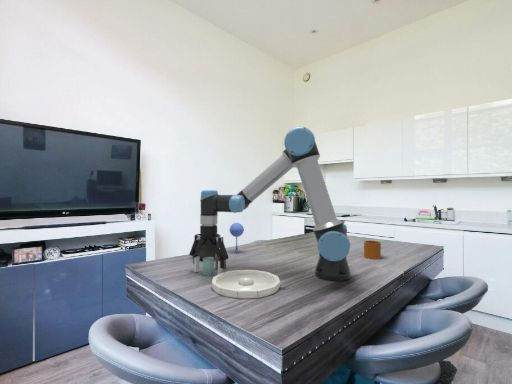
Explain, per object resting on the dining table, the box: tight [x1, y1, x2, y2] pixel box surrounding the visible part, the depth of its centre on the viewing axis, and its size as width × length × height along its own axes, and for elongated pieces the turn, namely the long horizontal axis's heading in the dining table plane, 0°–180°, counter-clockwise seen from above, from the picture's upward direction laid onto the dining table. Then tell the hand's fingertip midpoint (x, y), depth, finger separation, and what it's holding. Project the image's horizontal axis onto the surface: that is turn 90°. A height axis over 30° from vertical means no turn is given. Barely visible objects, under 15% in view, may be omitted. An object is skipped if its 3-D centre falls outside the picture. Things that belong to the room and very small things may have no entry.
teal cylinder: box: [202, 257, 215, 277], centre depth 122 cm, size 5×5×7 cm
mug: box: [363, 240, 382, 260], centre depth 157 cm, size 9×12×9 cm
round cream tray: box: [211, 269, 281, 300], centre depth 107 cm, size 26×26×3 cm
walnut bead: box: [214, 255, 227, 271], centre depth 131 cm, size 5×5×7 cm
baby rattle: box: [229, 222, 245, 254], centre depth 165 cm, size 9×9×18 cm
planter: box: [194, 233, 221, 261], centre depth 150 cm, size 14×14×13 cm
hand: (208, 273), depth 122 cm, fingers open, 12 cm apart
